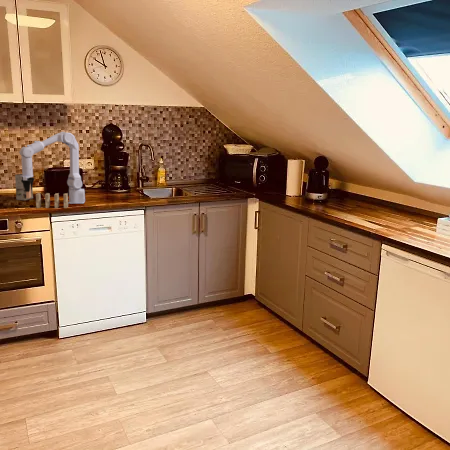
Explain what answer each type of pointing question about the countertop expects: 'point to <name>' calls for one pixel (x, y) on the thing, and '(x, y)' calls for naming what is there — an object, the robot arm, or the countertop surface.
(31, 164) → the robot arm
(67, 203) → the domino
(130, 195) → the countertop surface
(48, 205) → the domino
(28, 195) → the end domino
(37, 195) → the domino
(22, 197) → the coffee box
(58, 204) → the domino
